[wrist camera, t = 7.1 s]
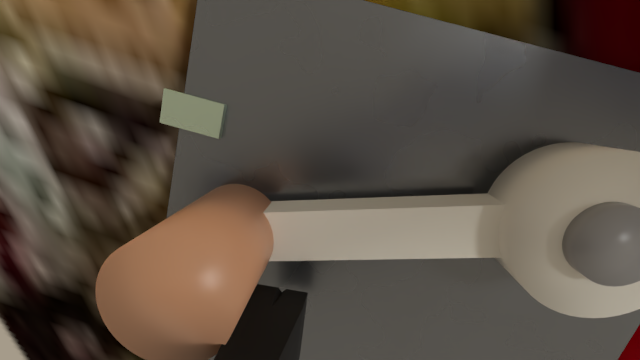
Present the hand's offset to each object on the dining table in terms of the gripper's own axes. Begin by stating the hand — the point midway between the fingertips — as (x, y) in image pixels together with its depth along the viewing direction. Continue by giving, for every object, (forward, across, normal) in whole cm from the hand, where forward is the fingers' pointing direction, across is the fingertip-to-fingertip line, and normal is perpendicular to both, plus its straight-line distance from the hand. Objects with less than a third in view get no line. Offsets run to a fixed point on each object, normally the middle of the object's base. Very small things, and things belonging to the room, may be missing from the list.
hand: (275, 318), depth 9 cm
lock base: (+3, -3, -1) cm, 4 cm away
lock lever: (+1, -3, -3) cm, 4 cm away
